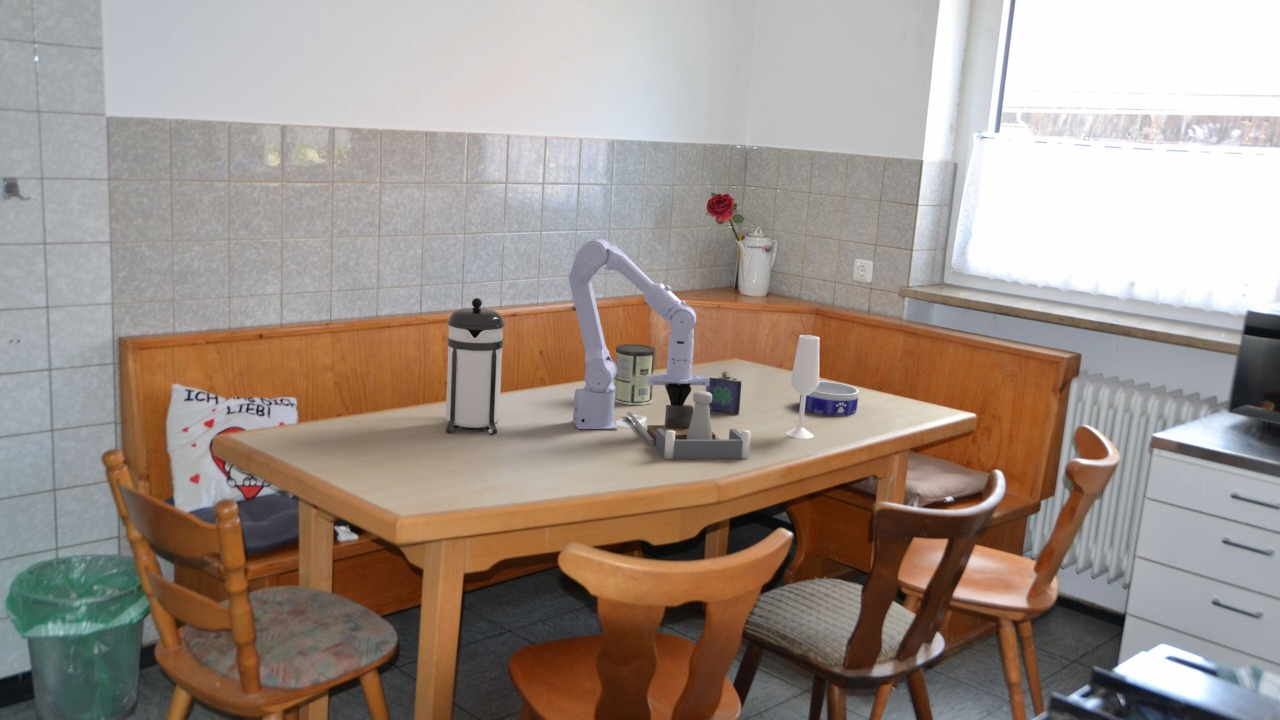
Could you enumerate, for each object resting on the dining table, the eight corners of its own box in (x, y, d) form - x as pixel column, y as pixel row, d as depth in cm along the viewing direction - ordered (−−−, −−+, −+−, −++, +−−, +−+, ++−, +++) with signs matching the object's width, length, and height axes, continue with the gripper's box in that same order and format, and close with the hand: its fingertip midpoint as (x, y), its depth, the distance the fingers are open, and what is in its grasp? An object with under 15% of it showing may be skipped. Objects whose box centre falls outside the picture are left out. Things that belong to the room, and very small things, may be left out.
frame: (665, 459, 237) (667, 432, 236) (653, 445, 247) (655, 420, 246) (749, 458, 242) (752, 432, 241) (734, 445, 251) (737, 420, 250)
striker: (655, 443, 248) (657, 413, 246) (646, 433, 255) (649, 404, 254) (714, 443, 251) (717, 413, 250) (704, 433, 259) (706, 404, 257)
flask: (702, 410, 281) (706, 369, 279) (705, 408, 284) (709, 367, 282) (737, 416, 279) (741, 374, 276) (740, 413, 281) (744, 372, 279)
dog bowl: (839, 401, 302) (841, 380, 301) (867, 416, 288) (869, 394, 287) (789, 402, 297) (791, 380, 296) (815, 417, 283) (817, 394, 282)
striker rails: (650, 445, 247) (651, 440, 247) (626, 416, 270) (626, 411, 270) (720, 445, 251) (720, 440, 251) (690, 416, 274) (690, 412, 274)
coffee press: (522, 429, 252) (528, 300, 246) (466, 440, 241) (471, 305, 235) (474, 413, 264) (479, 289, 258) (419, 423, 252) (423, 293, 246)
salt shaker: (711, 452, 244) (716, 396, 242) (685, 450, 245) (690, 394, 242) (711, 445, 250) (716, 390, 247) (686, 443, 250) (690, 388, 248)
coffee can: (626, 393, 294) (629, 342, 291) (659, 401, 288) (663, 348, 285) (604, 400, 285) (608, 347, 282) (638, 407, 280) (641, 353, 277)
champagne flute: (797, 429, 269) (806, 333, 264) (819, 436, 265) (829, 338, 260) (779, 433, 265) (789, 335, 260) (802, 440, 260) (812, 340, 255)
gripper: (654, 361, 249) (650, 419, 252) (715, 362, 253) (710, 419, 255) (646, 355, 256) (642, 411, 258) (706, 356, 259) (701, 411, 262)
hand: (675, 415), depth 257 cm, fingers closed, pressing on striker
